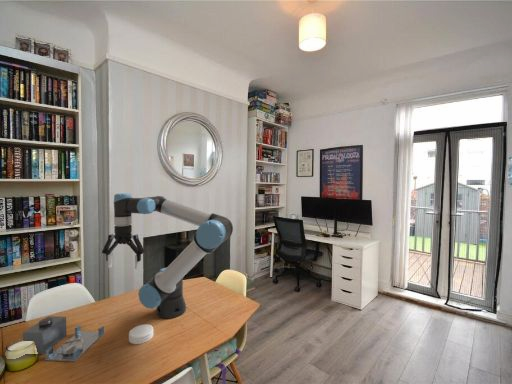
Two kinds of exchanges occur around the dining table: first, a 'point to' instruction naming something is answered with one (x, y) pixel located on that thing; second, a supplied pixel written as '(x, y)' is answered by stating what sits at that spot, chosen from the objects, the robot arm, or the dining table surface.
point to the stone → (72, 345)
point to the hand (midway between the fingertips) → (123, 267)
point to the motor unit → (58, 338)
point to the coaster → (140, 334)
